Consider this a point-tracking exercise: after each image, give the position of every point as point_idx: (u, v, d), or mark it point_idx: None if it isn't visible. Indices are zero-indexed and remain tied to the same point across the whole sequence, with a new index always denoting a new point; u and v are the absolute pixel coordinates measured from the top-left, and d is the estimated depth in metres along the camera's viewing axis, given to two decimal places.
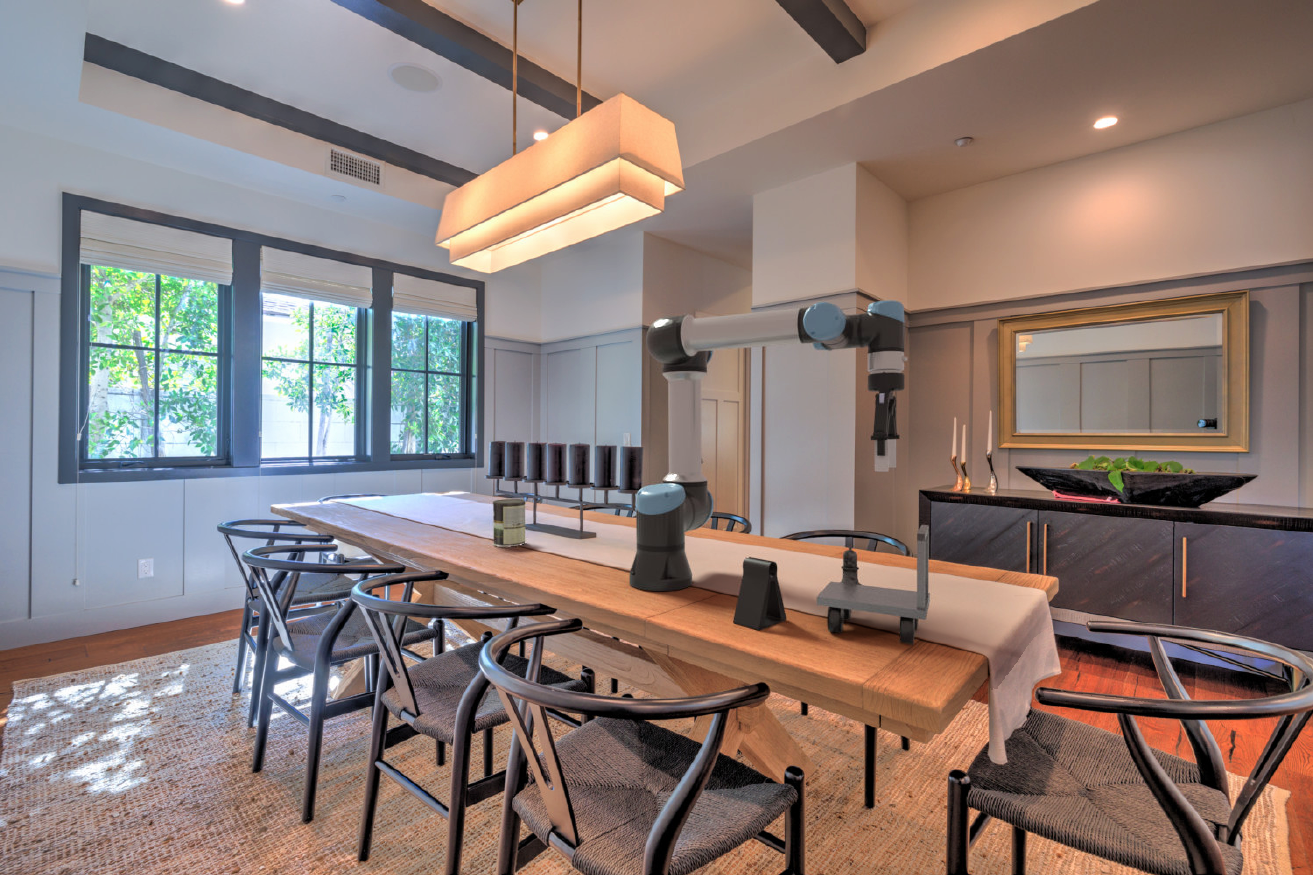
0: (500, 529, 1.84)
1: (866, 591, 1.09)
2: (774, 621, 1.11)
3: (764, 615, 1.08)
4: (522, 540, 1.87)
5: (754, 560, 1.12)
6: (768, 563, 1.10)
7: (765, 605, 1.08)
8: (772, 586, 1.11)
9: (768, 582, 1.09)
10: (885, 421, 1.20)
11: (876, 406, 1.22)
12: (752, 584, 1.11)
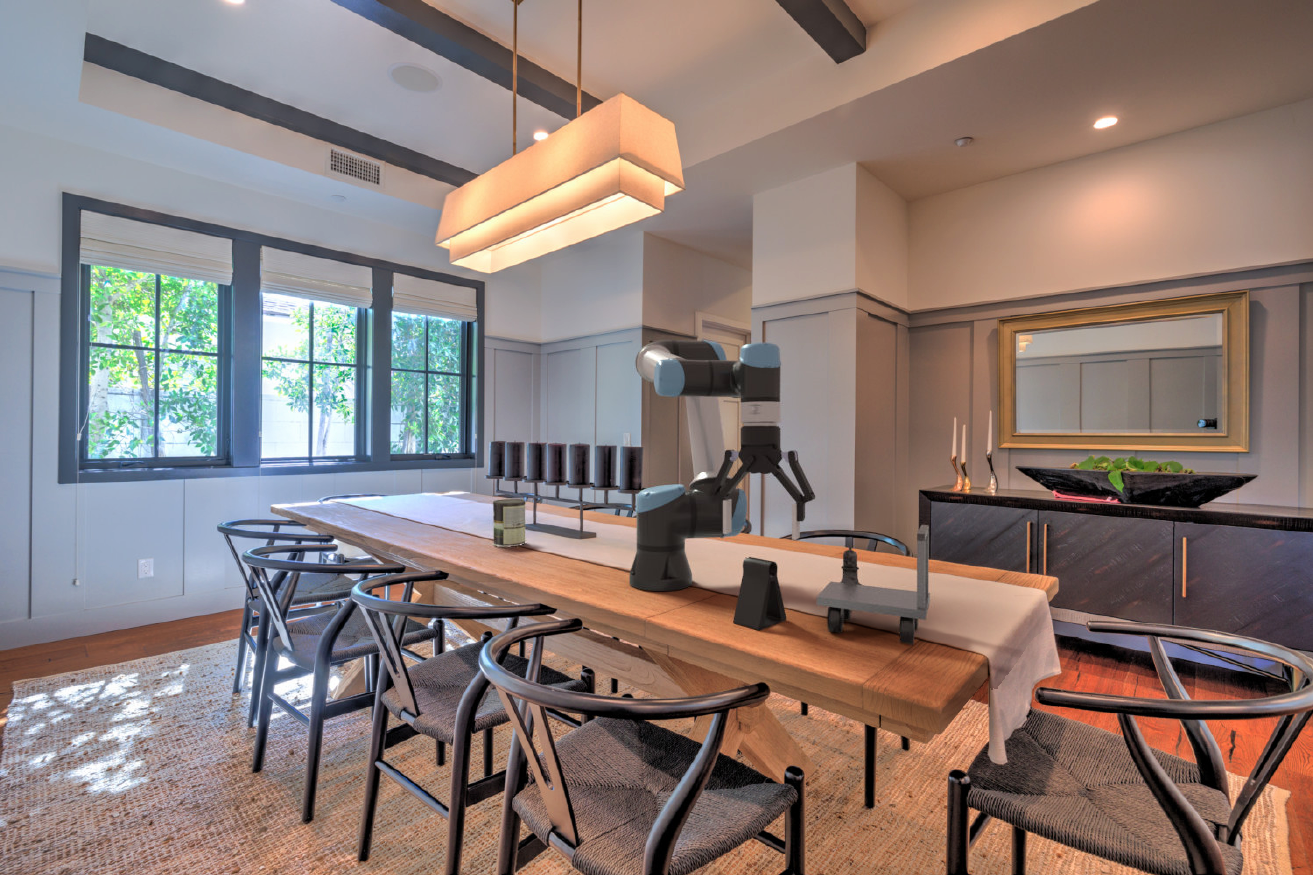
0: (500, 529, 1.84)
1: (866, 591, 1.09)
2: (774, 621, 1.11)
3: (764, 615, 1.08)
4: (522, 540, 1.87)
5: (754, 560, 1.12)
6: (768, 563, 1.10)
7: (765, 605, 1.08)
8: (772, 586, 1.11)
9: (768, 582, 1.09)
10: None
11: None
12: (752, 584, 1.11)
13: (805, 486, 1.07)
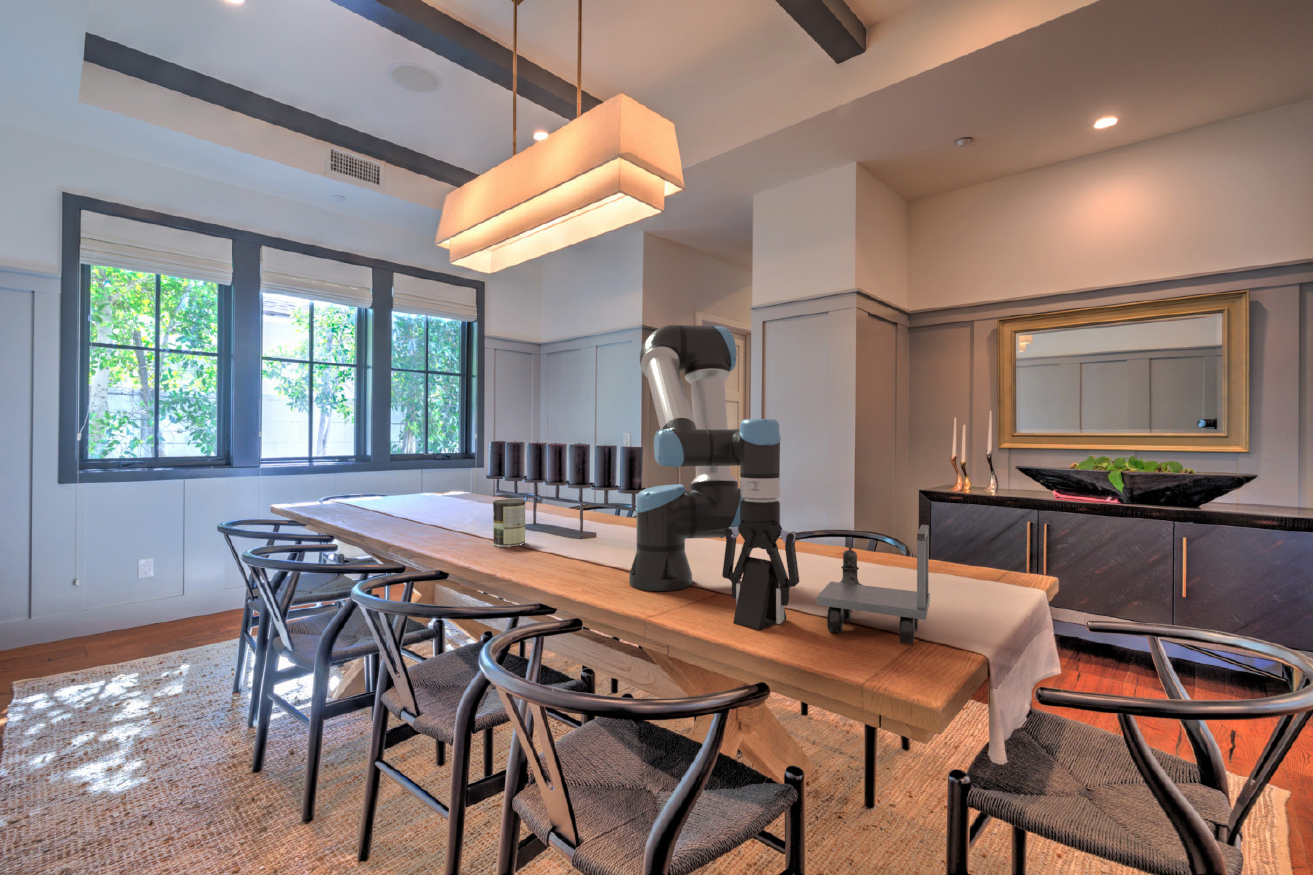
0: (500, 529, 1.84)
1: (866, 591, 1.09)
2: (774, 621, 1.11)
3: (764, 614, 1.08)
4: (522, 540, 1.87)
5: (754, 560, 1.12)
6: (768, 563, 1.10)
7: (765, 605, 1.08)
8: (772, 586, 1.11)
9: (768, 582, 1.09)
10: None
11: None
12: (752, 584, 1.11)
13: (793, 571, 1.08)
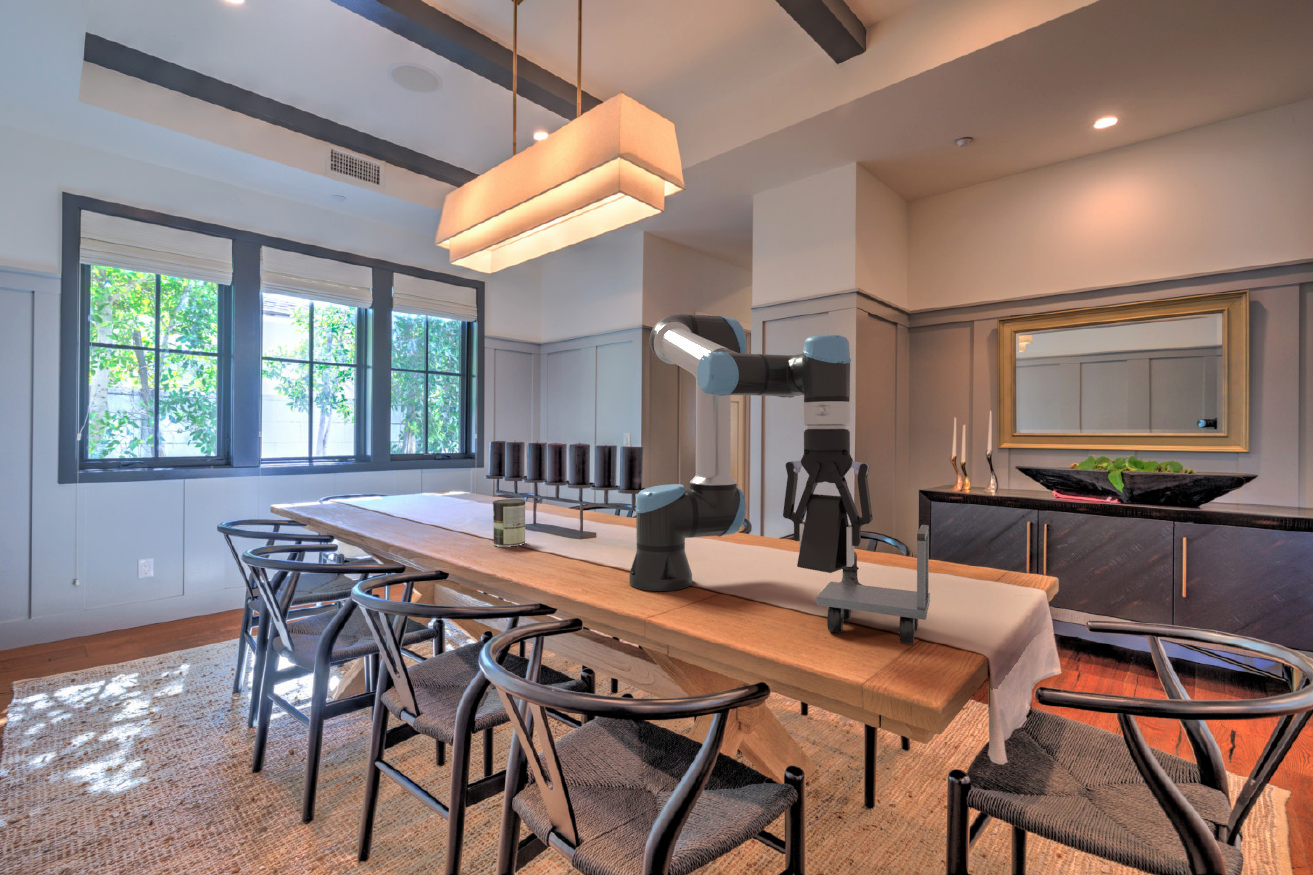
0: (500, 529, 1.84)
1: (866, 591, 1.09)
2: (843, 564, 0.98)
3: (835, 555, 0.95)
4: (522, 540, 1.87)
5: (820, 496, 0.99)
6: (838, 498, 0.97)
7: (836, 545, 0.95)
8: (841, 525, 0.98)
9: (838, 519, 0.96)
10: (785, 499, 1.02)
11: None
12: (819, 523, 0.98)
13: (867, 507, 0.95)
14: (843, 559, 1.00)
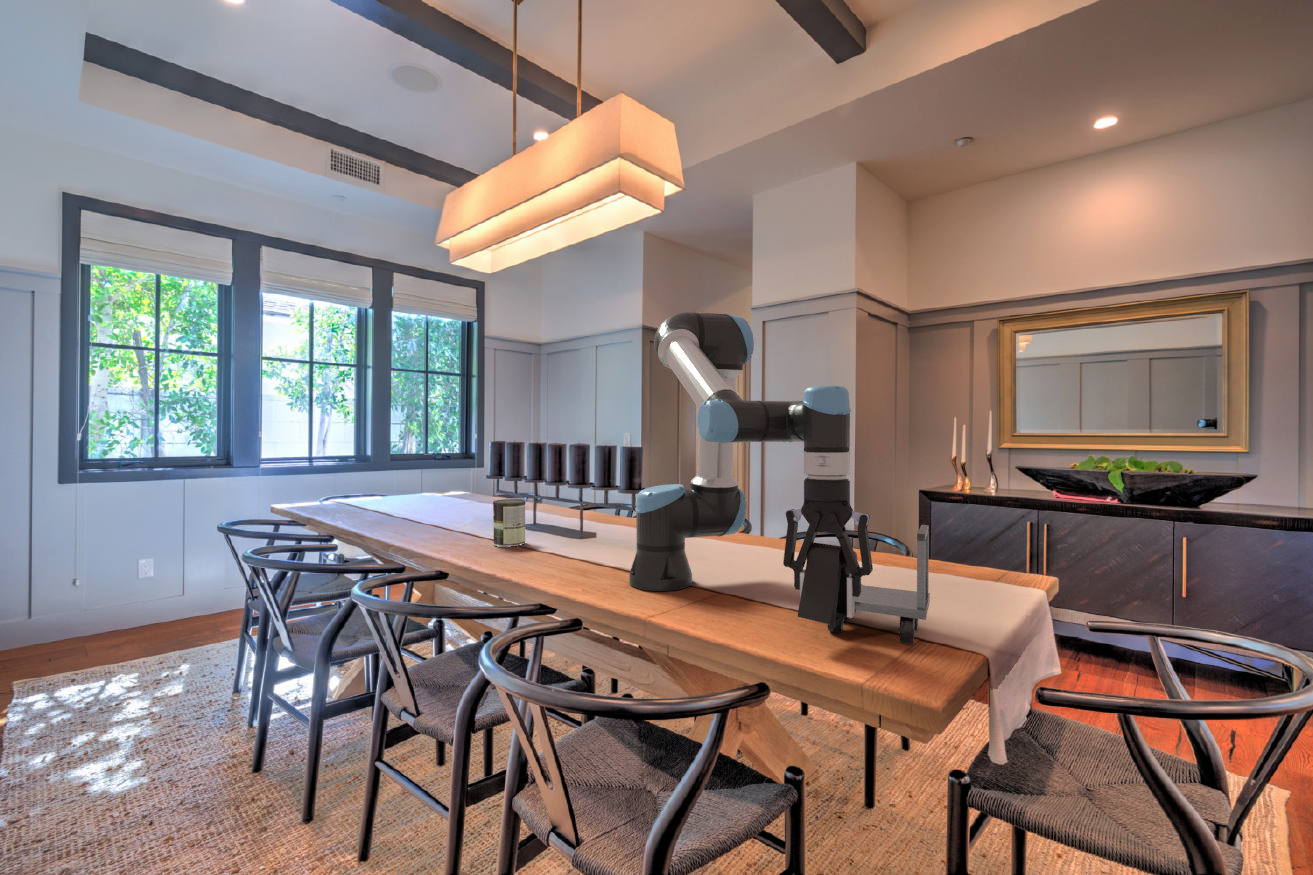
0: (500, 529, 1.84)
1: (866, 591, 1.09)
2: (844, 614, 0.98)
3: (835, 607, 0.95)
4: (522, 540, 1.87)
5: (820, 545, 0.99)
6: (838, 548, 0.97)
7: (836, 596, 0.95)
8: (841, 575, 0.98)
9: (839, 570, 0.96)
10: (785, 547, 1.02)
11: None
12: (819, 572, 0.98)
13: (867, 558, 0.95)
14: (843, 608, 1.00)
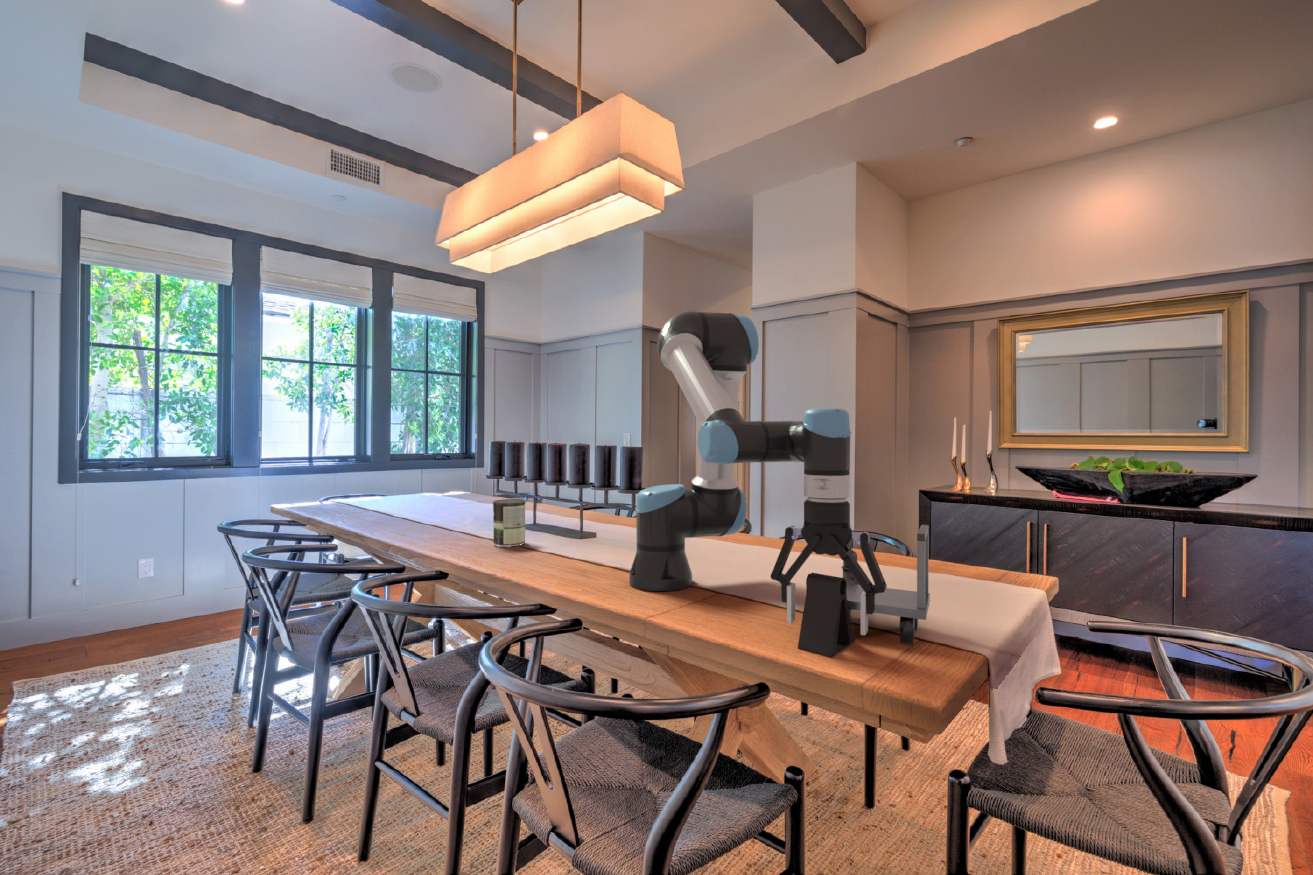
0: (500, 529, 1.84)
1: None
2: (843, 645, 0.99)
3: (836, 639, 0.96)
4: (522, 540, 1.87)
5: (820, 576, 0.99)
6: (838, 580, 0.97)
7: (837, 628, 0.96)
8: (841, 605, 0.99)
9: (839, 602, 0.96)
10: (776, 561, 1.02)
11: None
12: (819, 604, 0.98)
13: (877, 575, 0.94)
14: (842, 638, 1.00)
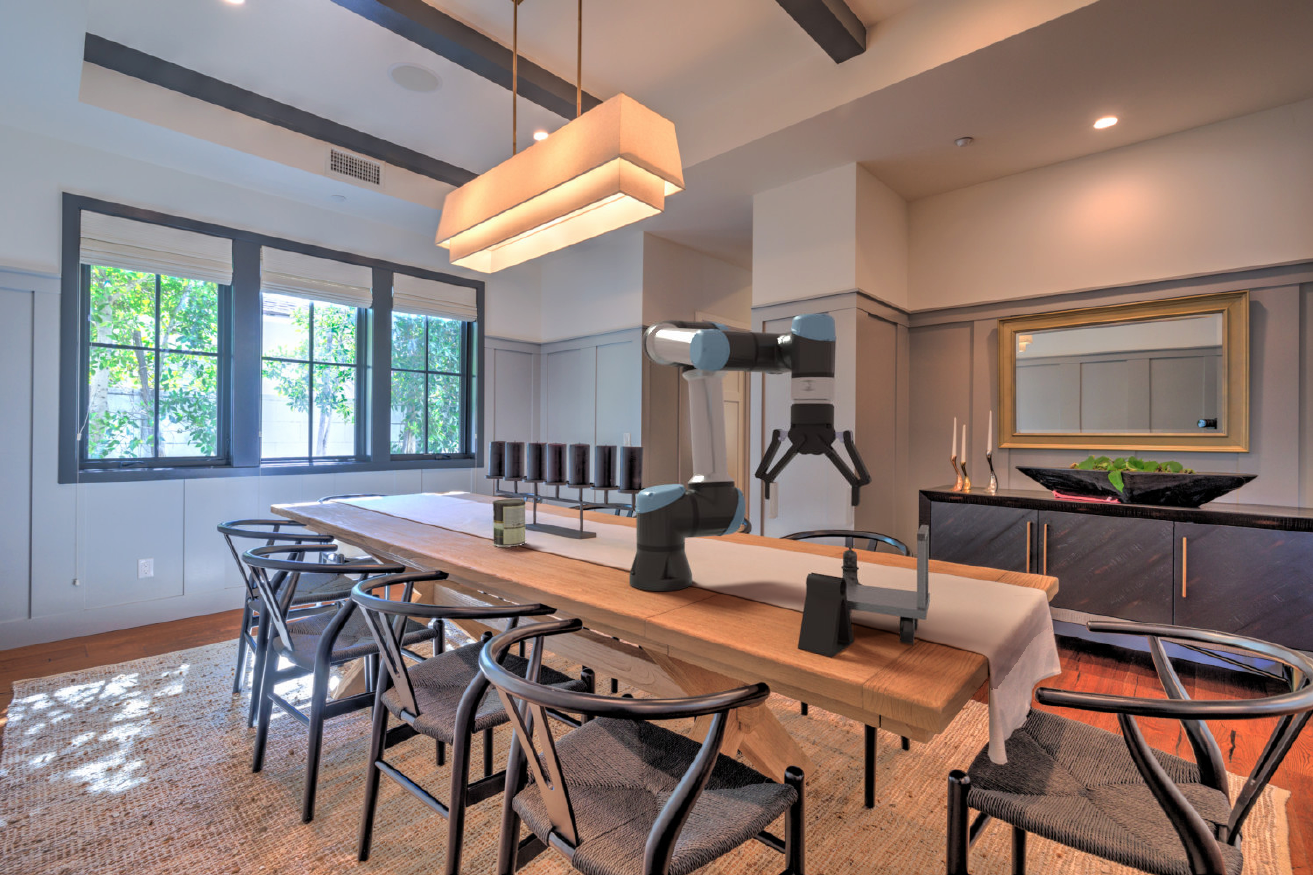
0: (500, 529, 1.84)
1: (866, 591, 1.09)
2: (843, 645, 0.99)
3: (836, 639, 0.96)
4: (522, 540, 1.87)
5: (820, 576, 0.99)
6: (838, 580, 0.97)
7: (837, 628, 0.96)
8: (841, 605, 0.99)
9: (839, 602, 0.96)
10: (761, 461, 1.08)
11: None
12: (819, 604, 0.98)
13: (862, 468, 0.99)
14: (842, 638, 1.00)
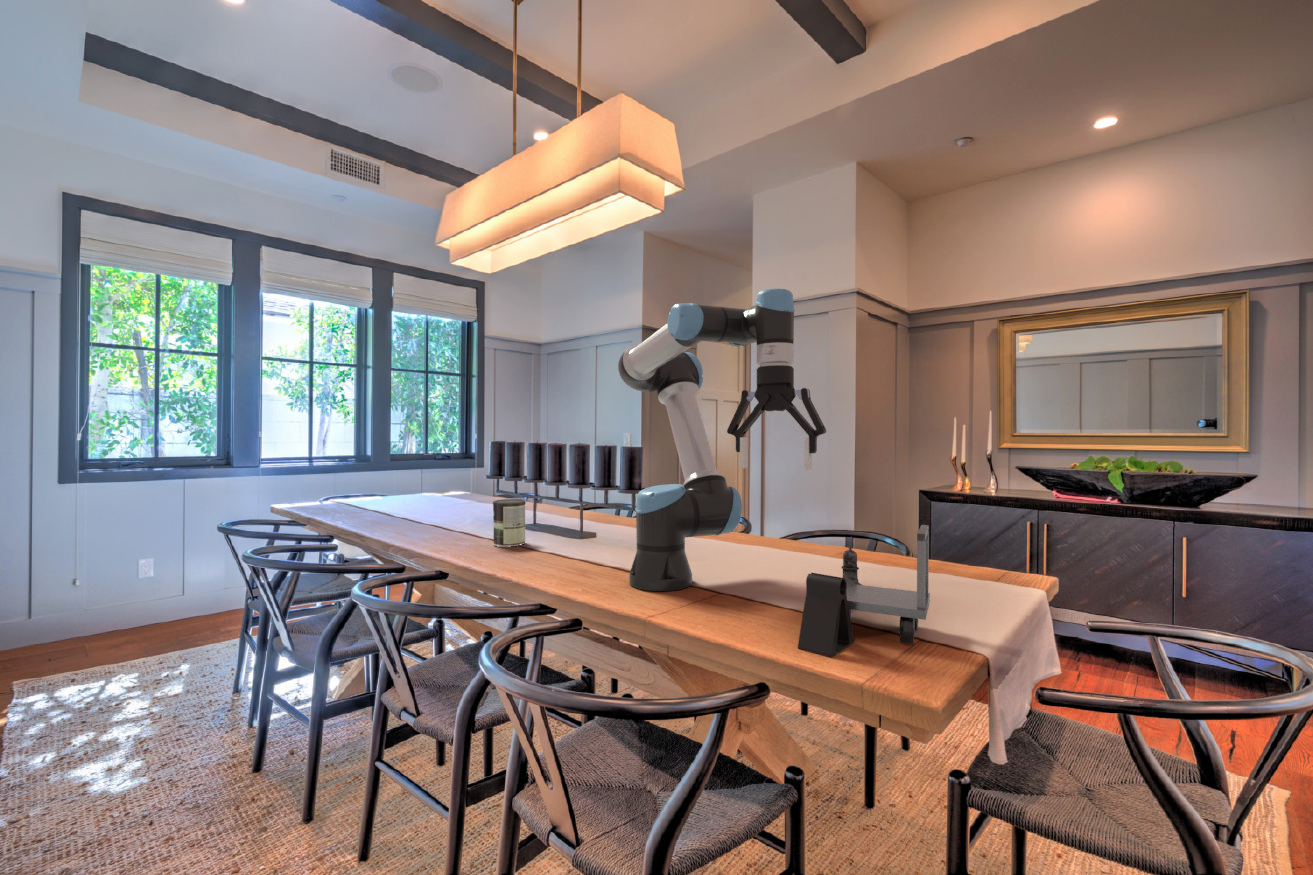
0: (500, 529, 1.84)
1: (866, 591, 1.09)
2: (843, 645, 0.99)
3: (836, 639, 0.96)
4: (522, 540, 1.87)
5: (820, 576, 0.99)
6: (838, 580, 0.97)
7: (837, 628, 0.96)
8: (841, 605, 0.99)
9: (839, 602, 0.96)
10: None
11: None
12: (819, 604, 0.98)
13: (817, 420, 1.15)
14: (842, 638, 1.00)
